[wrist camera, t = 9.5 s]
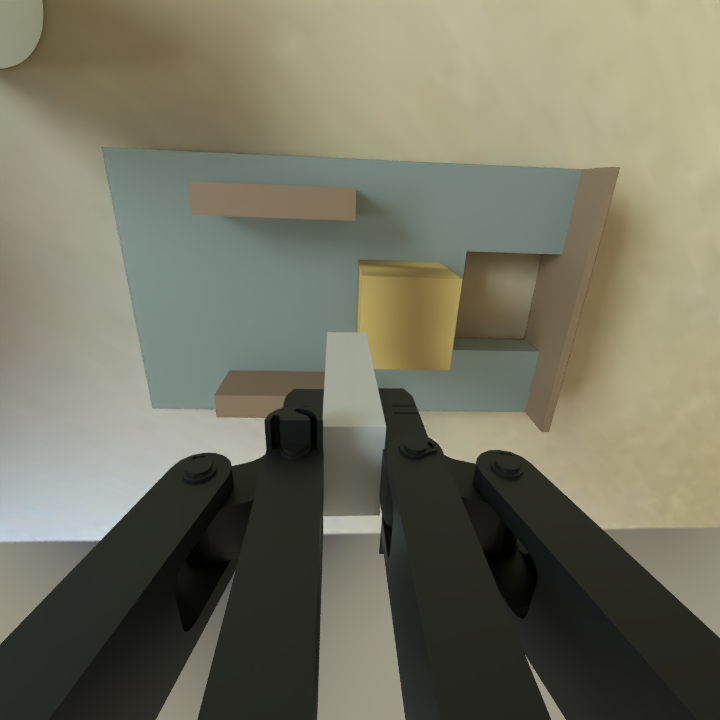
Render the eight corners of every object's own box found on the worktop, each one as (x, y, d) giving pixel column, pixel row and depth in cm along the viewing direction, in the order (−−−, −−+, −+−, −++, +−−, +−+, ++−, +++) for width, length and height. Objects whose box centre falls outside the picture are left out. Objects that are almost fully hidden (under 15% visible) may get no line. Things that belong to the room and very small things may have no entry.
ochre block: (355, 337, 26) (358, 368, 21) (358, 259, 24) (362, 276, 19) (430, 338, 26) (449, 370, 22) (439, 262, 24) (462, 279, 20)
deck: (166, 392, 29) (127, 437, 24) (124, 151, 23) (58, 139, 18) (518, 396, 31) (555, 439, 26) (568, 171, 25) (631, 166, 19)
